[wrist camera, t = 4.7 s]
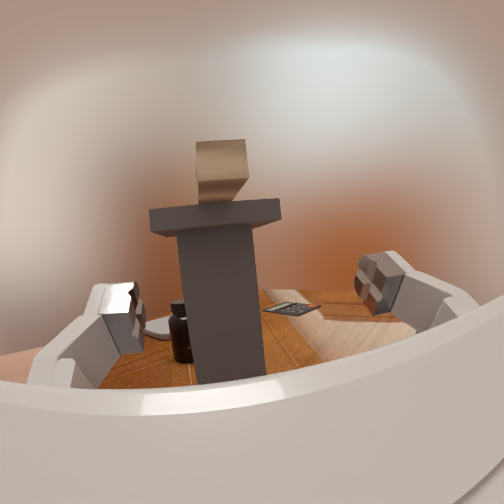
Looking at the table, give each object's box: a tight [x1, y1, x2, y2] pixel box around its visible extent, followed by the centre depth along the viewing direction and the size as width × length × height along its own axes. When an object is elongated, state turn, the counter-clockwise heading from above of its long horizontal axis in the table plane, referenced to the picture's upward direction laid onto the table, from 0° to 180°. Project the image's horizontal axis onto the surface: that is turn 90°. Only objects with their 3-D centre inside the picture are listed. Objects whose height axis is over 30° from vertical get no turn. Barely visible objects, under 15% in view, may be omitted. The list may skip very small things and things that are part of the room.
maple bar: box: [196, 139, 249, 204], centre depth 27 cm, size 22×3×2 cm, turn 11°
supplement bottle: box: [168, 300, 194, 363], centre depth 54 cm, size 7×7×12 cm
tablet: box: [143, 315, 171, 340], centre depth 80 cm, size 16×26×2 cm, turn 141°
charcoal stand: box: [149, 198, 281, 385], centre depth 32 cm, size 14×12×26 cm
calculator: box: [263, 302, 321, 316], centre depth 88 cm, size 12×1×15 cm
